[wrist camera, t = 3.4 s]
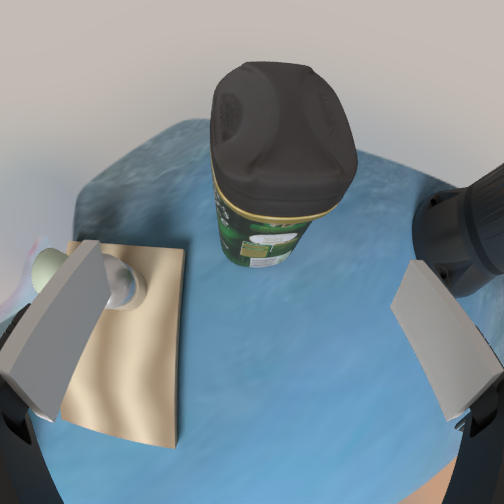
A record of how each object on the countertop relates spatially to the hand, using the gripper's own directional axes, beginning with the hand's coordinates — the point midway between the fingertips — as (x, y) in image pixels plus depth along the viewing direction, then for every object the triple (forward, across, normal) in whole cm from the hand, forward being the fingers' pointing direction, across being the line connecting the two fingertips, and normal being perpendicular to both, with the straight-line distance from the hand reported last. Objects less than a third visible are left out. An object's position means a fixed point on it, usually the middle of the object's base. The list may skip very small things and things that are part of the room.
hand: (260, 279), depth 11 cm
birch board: (+8, -13, -16) cm, 22 cm away
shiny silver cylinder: (+12, -12, -11) cm, 20 cm away
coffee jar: (+18, +1, -6) cm, 19 cm away
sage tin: (+12, -18, -11) cm, 24 cm away
